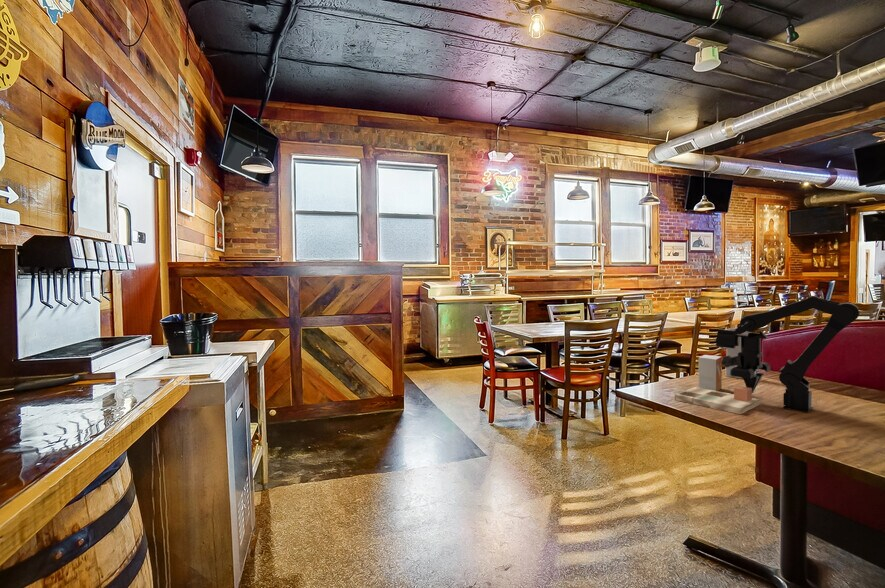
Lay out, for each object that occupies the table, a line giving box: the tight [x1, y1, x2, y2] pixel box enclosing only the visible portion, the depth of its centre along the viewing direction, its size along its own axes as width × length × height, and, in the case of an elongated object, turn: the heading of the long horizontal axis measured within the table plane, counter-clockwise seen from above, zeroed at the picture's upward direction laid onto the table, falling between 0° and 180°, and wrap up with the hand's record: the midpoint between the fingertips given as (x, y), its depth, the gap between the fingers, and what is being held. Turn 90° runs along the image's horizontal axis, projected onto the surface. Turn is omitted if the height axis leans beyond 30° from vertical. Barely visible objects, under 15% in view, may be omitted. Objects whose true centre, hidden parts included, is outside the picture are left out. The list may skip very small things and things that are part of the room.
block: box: [733, 385, 753, 402], centre depth 150 cm, size 4×4×4 cm
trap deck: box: [674, 386, 761, 415], centre depth 154 cm, size 21×16×2 cm
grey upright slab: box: [724, 326, 752, 379], centre depth 187 cm, size 11×4×22 cm, turn 61°
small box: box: [698, 354, 723, 391], centre depth 170 cm, size 8×6×13 cm
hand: (750, 393), depth 153 cm, fingers closed
